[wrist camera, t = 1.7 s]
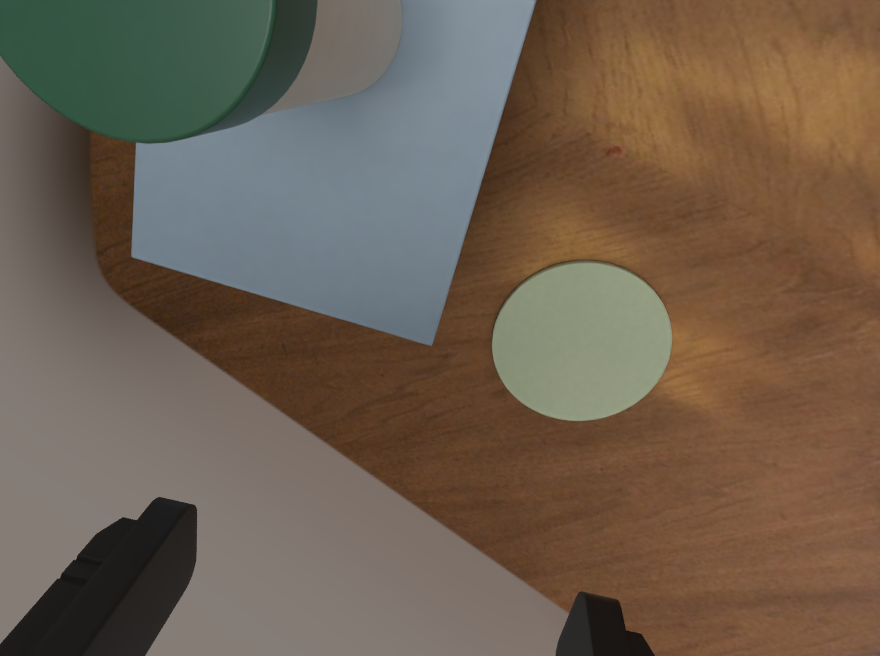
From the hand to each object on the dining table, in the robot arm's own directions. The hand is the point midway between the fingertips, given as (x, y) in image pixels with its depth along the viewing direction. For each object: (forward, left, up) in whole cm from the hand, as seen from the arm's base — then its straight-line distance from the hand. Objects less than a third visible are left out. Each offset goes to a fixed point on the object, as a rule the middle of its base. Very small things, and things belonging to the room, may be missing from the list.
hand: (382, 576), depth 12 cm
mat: (+9, -4, -25) cm, 27 cm away
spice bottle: (-6, +10, -11) cm, 16 cm away
